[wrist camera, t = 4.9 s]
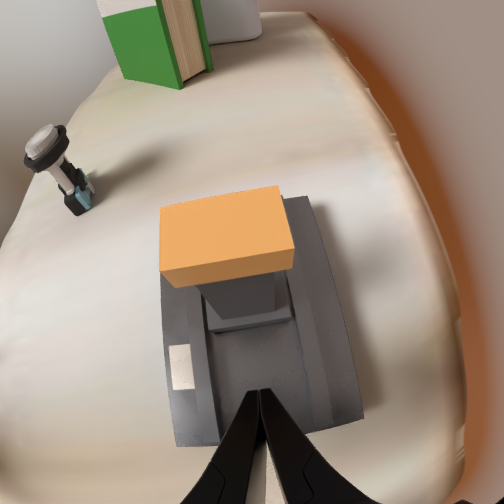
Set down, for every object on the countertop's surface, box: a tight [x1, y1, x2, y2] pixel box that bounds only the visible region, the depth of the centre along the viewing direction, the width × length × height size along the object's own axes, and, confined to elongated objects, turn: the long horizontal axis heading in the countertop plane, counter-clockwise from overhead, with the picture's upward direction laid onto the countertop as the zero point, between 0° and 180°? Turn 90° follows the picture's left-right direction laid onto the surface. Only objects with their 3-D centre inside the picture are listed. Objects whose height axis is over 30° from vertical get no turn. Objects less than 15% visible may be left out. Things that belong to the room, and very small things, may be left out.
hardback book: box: [96, 0, 213, 90], centre depth 29 cm, size 18×7×24 cm, turn 52°
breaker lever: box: [159, 186, 295, 333], centre depth 13 cm, size 3×5×10 cm, turn 99°
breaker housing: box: [160, 195, 364, 447], centre depth 18 cm, size 17×12×3 cm
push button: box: [24, 124, 94, 216], centre depth 23 cm, size 7×5×10 cm
